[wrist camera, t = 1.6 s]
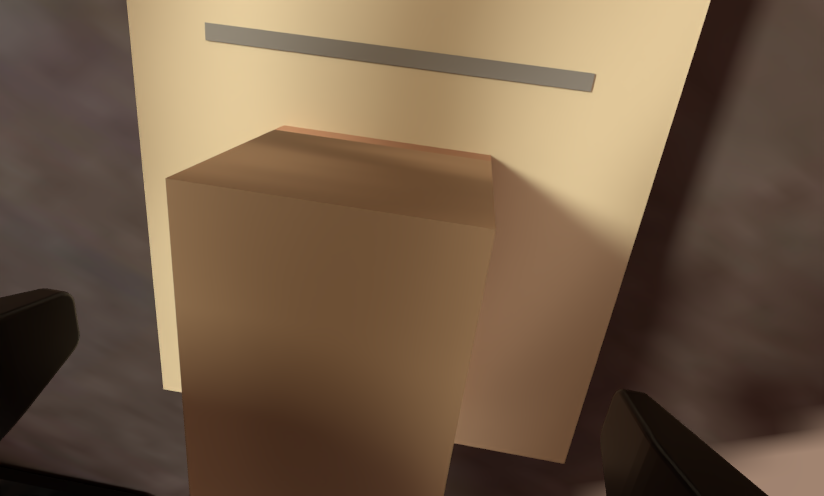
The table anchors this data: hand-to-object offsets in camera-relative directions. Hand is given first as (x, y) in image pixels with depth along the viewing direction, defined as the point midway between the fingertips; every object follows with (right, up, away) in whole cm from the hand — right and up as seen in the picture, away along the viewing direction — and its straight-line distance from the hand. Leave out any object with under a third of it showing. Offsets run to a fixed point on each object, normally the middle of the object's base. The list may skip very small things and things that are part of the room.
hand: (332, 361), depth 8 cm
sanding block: (0, +1, +3) cm, 3 cm away
